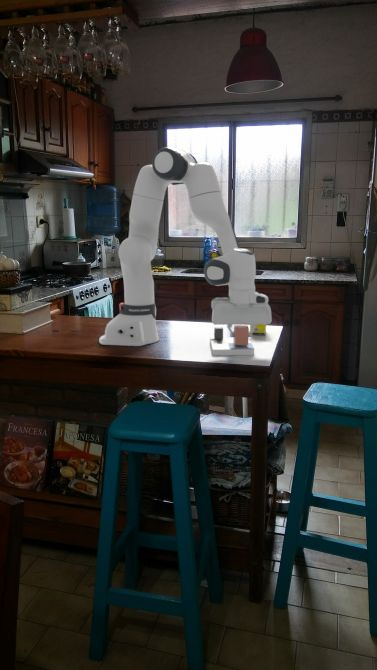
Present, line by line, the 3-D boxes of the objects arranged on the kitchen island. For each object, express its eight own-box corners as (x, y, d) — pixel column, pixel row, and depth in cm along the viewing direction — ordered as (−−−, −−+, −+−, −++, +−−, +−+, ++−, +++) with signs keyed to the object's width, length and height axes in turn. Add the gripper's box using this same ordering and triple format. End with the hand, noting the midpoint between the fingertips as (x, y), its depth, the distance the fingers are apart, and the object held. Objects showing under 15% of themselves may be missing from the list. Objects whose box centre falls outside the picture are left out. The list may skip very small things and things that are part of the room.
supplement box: (265, 335, 211) (265, 307, 208) (249, 334, 212) (250, 307, 209) (266, 332, 216) (266, 305, 214) (251, 331, 217) (251, 304, 215)
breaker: (214, 339, 194) (214, 328, 194) (214, 338, 197) (214, 327, 196) (223, 339, 195) (223, 328, 194) (222, 338, 197) (222, 327, 196)
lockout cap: (235, 345, 183) (235, 327, 182) (233, 341, 188) (234, 324, 186) (248, 345, 183) (248, 327, 182) (246, 341, 188) (247, 324, 186)
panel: (212, 355, 182) (212, 348, 181) (209, 343, 199) (210, 337, 198) (254, 354, 182) (254, 348, 182) (247, 342, 199) (247, 336, 198)
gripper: (211, 298, 178) (211, 339, 182) (273, 298, 179) (271, 338, 182) (210, 295, 185) (210, 334, 188) (270, 295, 185) (268, 334, 188)
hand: (241, 336), depth 185 cm, fingers closed on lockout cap, 4 cm apart
